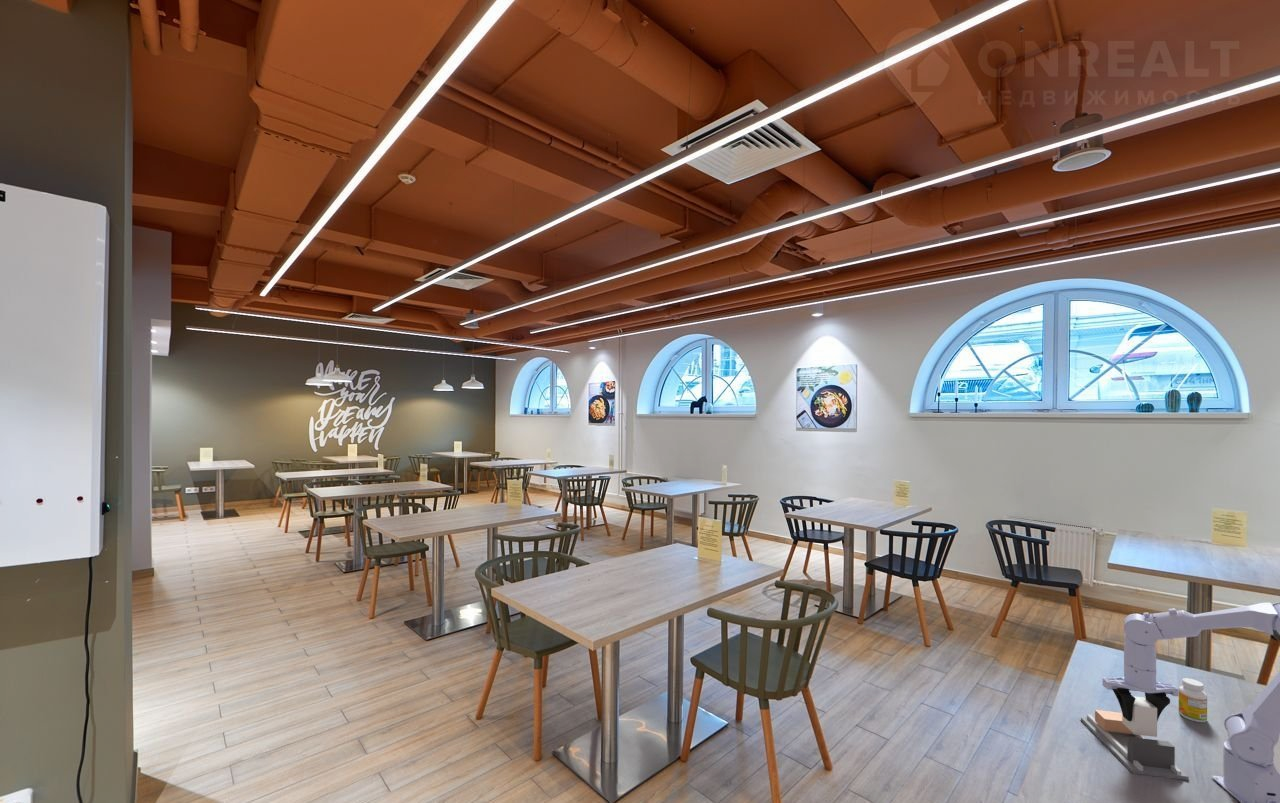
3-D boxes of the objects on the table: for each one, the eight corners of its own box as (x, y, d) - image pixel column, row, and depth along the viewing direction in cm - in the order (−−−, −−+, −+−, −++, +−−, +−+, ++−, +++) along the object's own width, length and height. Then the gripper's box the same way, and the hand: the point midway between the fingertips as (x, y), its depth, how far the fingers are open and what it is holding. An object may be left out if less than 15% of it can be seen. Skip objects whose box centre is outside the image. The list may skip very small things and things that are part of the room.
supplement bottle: (1176, 708, 146) (1177, 674, 146) (1204, 715, 143) (1205, 680, 143) (1180, 717, 142) (1180, 682, 142) (1209, 725, 139) (1209, 689, 139)
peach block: (1142, 734, 132) (1142, 723, 132) (1104, 730, 134) (1104, 719, 134) (1131, 725, 136) (1131, 713, 136) (1094, 721, 138) (1095, 709, 138)
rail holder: (1188, 780, 120) (1188, 753, 119) (1132, 772, 122) (1132, 746, 122) (1128, 725, 139) (1128, 702, 139) (1080, 720, 142) (1080, 697, 141)
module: (1157, 736, 125) (1157, 708, 125) (1134, 734, 126) (1134, 705, 126) (1143, 725, 129) (1143, 697, 129) (1122, 722, 130) (1122, 695, 130)
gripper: (1162, 660, 129) (1162, 713, 130) (1094, 654, 133) (1094, 706, 133) (1185, 675, 122) (1185, 732, 123) (1113, 668, 126) (1113, 723, 126)
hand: (1139, 720), depth 127 cm, fingers closed on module, 4 cm apart
